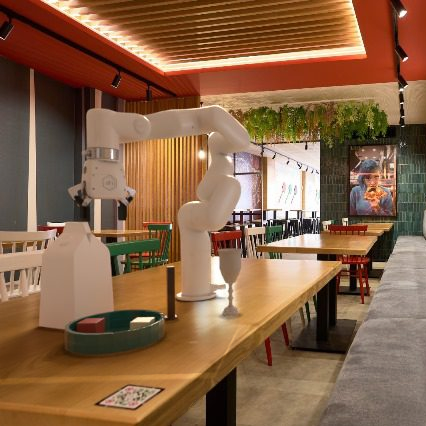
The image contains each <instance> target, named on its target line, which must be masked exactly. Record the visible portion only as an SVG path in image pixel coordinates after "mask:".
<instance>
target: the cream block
mask: <svg viewBox="0 0 426 426" xmlns="http://www.w3.org/2000/svg"><path fill="white" fill-rule="evenodd" d="M154 322H155V317H137V318H136V319H134V320H133V321H131V322H130V330H131V329H136V328H140V327H143V326H147V325H149V324H152V323H154Z"/></svg>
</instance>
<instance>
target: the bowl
mask: <svg viewBox="0 0 426 426" xmlns="http://www.w3.org/2000/svg"><path fill="white" fill-rule="evenodd" d="M165 316H166V315H165V314H164V313H163V312H161V311H159V310H153V309H141V308H140V309H138V308H137V309H136V308H135V309H132V308H131V309H120V310H119V309H118V310H114V311H109V312H104V313H98V314H93V315H89V316H85V317H82V318H79V319H76V320H74V321H71V322H69V323H68V324H67V325H66V326H65V328H64V329H63V332H64V333H63V334H64V335H63V336H64V339H63V340H64V349H65V350H66V351H68V352H70V353H73V354H78V355H106V354H115V353H123V352H127V351H131V350H136V349H139V348H142V347H146V346H149V345H151V344H154V343H156V342H157V341H160V340H161V339H162V338H163V337H164V336H165V334H166V320H165ZM137 317H155V322H154V323H152V324H149V325H147V326H143V327H140V328H136V329H131V330H130V322H131V321H133V320H134V319H136V318H137ZM87 318H105V333H78V332H77V323H79V322H81V321H83V320H85V319H87Z"/></svg>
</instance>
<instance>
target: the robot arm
mask: <svg viewBox="0 0 426 426" xmlns="http://www.w3.org/2000/svg"><path fill="white" fill-rule="evenodd" d="M206 134H210V135H209V136H208V138H207V147H208V150H209V154H210V159H211V162H210V165H209V167H208V168H207V171H206V172H205V174H204V175H203V177H202V179H201V180H200V182H199V184H198V186H197V187H196V197H197V199H198V201H188V202H186V203H184V204H182V205H181V207H180V208H179V209H178V211H177V217H176V219H177V224H178V228H179V235H180V236H179V237H180V292H178V293H177V294H175V299H176V300H178V301H183V302H199V301H207V300H211V299H213V298H216V296H217V291H218V290H220V291H221V290H226V289H227V286H226V285H227V283H214V282H212V242H211V237H210V234H209V232H216V231H220V230H222V229H223V228H224V227H225V226H226V225H227V224H228V222H229V220H230V218H231V216H232V214H233V213H234V210H235V209H236V206H238V203H239V201H240V199H241V195H242V186H241V182H240V181H239V179H238V178H236V177H235V176H233V175H234V174H235V165H234V161H233V159H232V156H231V154H235V153H237V154H238V153H243V152H245V151H247V150H248V149H249V147H250V146H251V136H250V133H249V132H248V130H247V129H246V128H245V127H244V126H243V125H242V123H240V122H239V121H238V120H237V119H236V118H235V117H234V116H233V115H232V114H231V113H230V112H229V111H227V110H226V109H225V108H223V107H222V106H219V105H216V104H214V105H208V106H204V107H199V108H198V107H197V108H196V107H195V108H186V109H185V108H184V109H183V108H182V109H167V110H162V111H158V112H157V111H156V112H154V113H148V114H144V115H142V114H140V113H135V112H119V111H114V110H111V109H108V108H97V107H96V108H95V107H94V108H90V109H88V110H87V112H86V149H82V151H81V156H85V158H86V160H84V163H83V167H82V174H81V182H80V183H78V184H76V185H74V186H71V187H69V188H67V191H68V194H69V195H70V197H71V200H72V201H74V202H75V204H76V205H77V206H78V207H79V219H80V220H81V221H80V222H88V223H90V222H91V206H89V204H90V202H91V201H93V200H115V201H116V202H117V204H118V206H117V220H118V221H119V222H121V221H127V218H128V206H130V203H131V202H132V201H133V200H134V197H135V195H136V193H137V191H136V190H135V189H134V188H132V187H130V186H128V185H127V178H126V177H127V176H126V172H125V167H124V163H123V162H120V144H121V145H123V144H129V143H137V142H144V141H152V140H153V141H154V140H170V139H177V138H185V137H192V136H200V135H206ZM80 190H81V192H80V193H81V196H82V197H81V196H80V195H79V193H78V192H79V191H80Z"/></svg>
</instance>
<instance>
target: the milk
mask: <svg viewBox="0 0 426 426" xmlns="http://www.w3.org/2000/svg"><path fill="white" fill-rule="evenodd" d="M111 262H112V261H111V252H110V249H109V247H107V245H106V244H105V243H104V242H102V241H101V240H100V239H99V238H98V237H97V236H95V234H93V233H92V231H91V228H90V225H89V222H82V221H66V222H65V223H64V226H63V229H62V233H61V234H59V235H58V236H57V237H56V238H55V239H54V240H53V241H52V242H51V243H50V244H49V245H48V246H47V247H46V248H45V250H44V251H43V253H42V256H41V270H40V271H41V273H40V291H39V292H40V294H39V296H40V297H39V313H38V314H39V318H38V319H39V320H38V327H44V328H51V329H57V330H64V328H65V326H66V325H67V324H68V323H69V322H71V321H74V320H76V319H79V318H82V317H85V316H89V315H93V314H98V313H104V312H109V311H115V305H114V302H115V301H114V292H113V275H112V264H111Z"/></svg>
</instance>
